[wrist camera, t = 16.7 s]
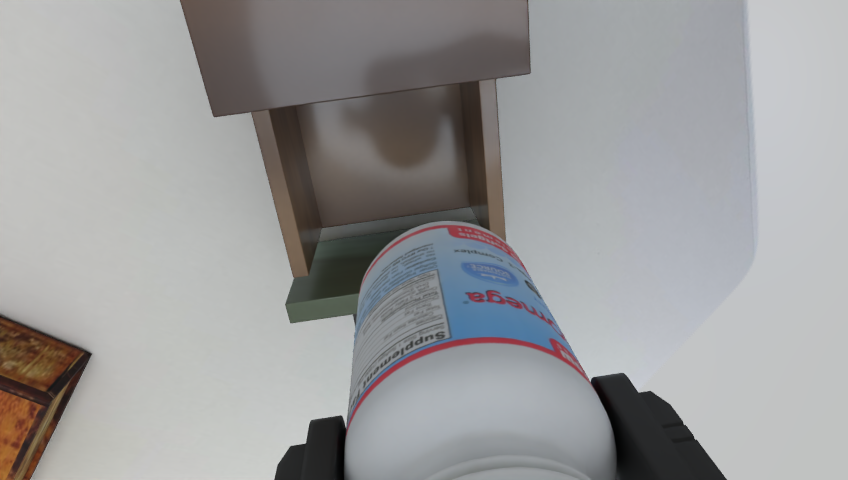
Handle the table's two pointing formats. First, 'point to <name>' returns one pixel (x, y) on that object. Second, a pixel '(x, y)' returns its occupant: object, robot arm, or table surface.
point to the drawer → (375, 178)
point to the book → (32, 394)
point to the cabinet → (349, 48)
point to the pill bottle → (466, 370)
